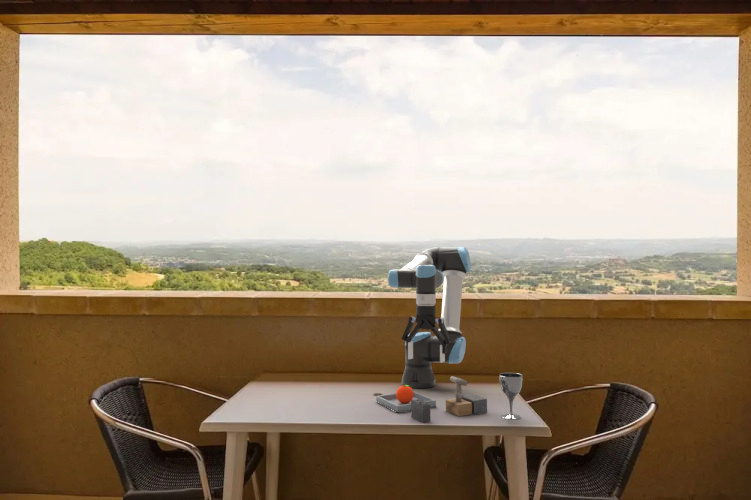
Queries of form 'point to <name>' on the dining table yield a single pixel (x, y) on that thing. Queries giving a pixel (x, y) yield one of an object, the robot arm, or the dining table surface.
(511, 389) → the wine glass
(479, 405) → the frame
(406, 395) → the clementine
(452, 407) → the slider
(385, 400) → the tray
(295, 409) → the dining table surface
